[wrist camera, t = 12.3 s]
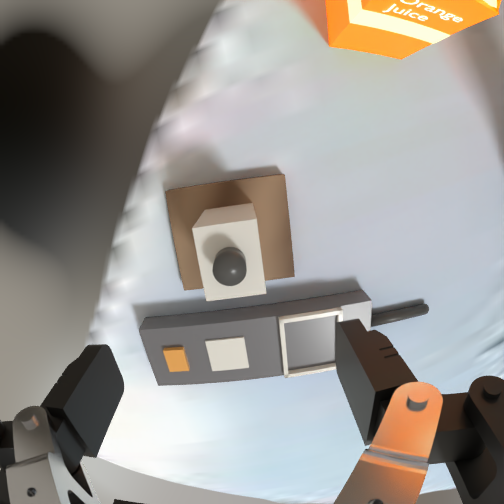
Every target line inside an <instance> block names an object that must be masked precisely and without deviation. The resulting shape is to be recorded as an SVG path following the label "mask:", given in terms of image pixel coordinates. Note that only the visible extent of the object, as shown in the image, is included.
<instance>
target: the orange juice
mask: <svg viewBox="0 0 504 504" xmlns="http://www.w3.org/2000/svg"><path fill="white" fill-rule="evenodd" d="M325 1H326V11H327V22H328V35H329V47H336V48H344V49H350V50H357V51H363V52H368V53H374V54H379V55H384V56H388V57H393V58H397V59H403V58H405V57H407V56H409V55H411V54H413V53H415V52H417V51H419V50H421V49H423V48H425V47H427V46H429V45H431V44H434V43H436V42H438V41H440V40H443V39H445V38H447V37H449V36H451V35H452V34H454V33H456V32H458V31H460V30H463V29H465V28H467V27H469V26H472V25H474V24H476V23H479V22H481V21H483V20H486V19H488V18H491V17H493V16H496V15H498V14H499V12H498V10H499V6H500V3H501V0H325Z"/></svg>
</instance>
